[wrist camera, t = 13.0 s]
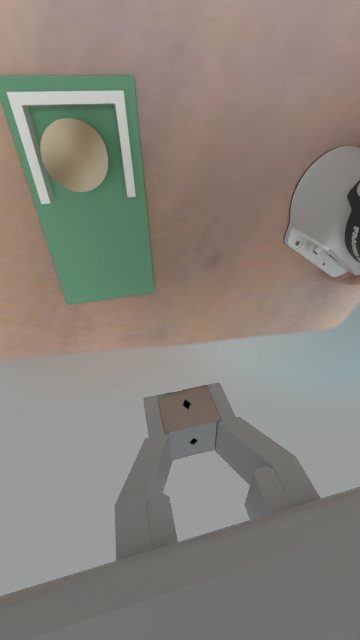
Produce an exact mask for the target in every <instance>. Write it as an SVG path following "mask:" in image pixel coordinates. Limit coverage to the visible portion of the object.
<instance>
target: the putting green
mask: <svg viewBox="0 0 360 640" xmlns="http://www.w3.org/2000/svg"><path fill="white" fill-rule="evenodd" d="M0 100H1V103H2V106H3V109H4V112H5V115H6V118H7V121H8V124H9V128H10V131H11V134H12V137H13V140H14V143H15V146H16V149H17V152H18V155H19V158H20V161H21V164H22V167H23V170H24V173H25V177H26V180H27V183H28V186H29V189H30V192H31V195H32V198H33V201H34V204H35V207H36V210H37V213H38V216H39V219H40V222H41V226H42V229H43V232H44V235H45V238H46V241H47V244H48V247H49V250H50V253H51V256H52V259H53V262H54V265H55V268H56V271H57V275H58V278H59V281H60V284H61V287H62V290H63V293H64V296H65V299H66V302H67V305H69V304H77V303H84V302H91V301H98V300H105V299H112V298H119V297H126V296H133V295H141V294H148V293H155V290H154V279H153V269H152V259H151V249H150V238H149V228H148V218H147V207H146V197H145V187H144V176H143V166H142V156H141V145H140V135H139V125H138V115H137V104H136V94H135V84H134V75H80V76H0ZM63 118H73V119H77V120H80V121H82V122H85V123H87V124H89V125H91V126H92V127H93V128H95V129H96V130H97V131H98V133H99V134H100V135H101V137H102V138H103V140H104V143H105V145H106V149H107V155H108V170H107V174H106V176H105V178H104V180H103V181H102V183H101V184H100V185H99V186H98V187H96V188H95V189H93V190H91V191H87V192H74V191H71V190H68V189H66V188H64V187H62V186H61V185H59V184H58V183H57V182H56V181H55V180H54V179H53V178H52V177H51V176H50V175H49V173H48V172H47V170H46V168H45V166H44V164H43V161H42V157H41V151H40V144H41V139H42V135H43V133H44V131H45V130H46V128H47V127H48V126H49V125H50V124H51V123H53V122H54V121H56V120H59V119H63Z"/></svg>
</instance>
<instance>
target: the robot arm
mask: <svg viewBox="0 0 360 640" xmlns="http://www.w3.org/2000/svg"><path fill="white" fill-rule="evenodd" d="M297 241H298V242H297ZM296 242H297V243H296ZM284 243H285V244H286V245H287V246H288V247H289V248H291V249H292V250H294V251H295V252H296V253H298V254H299V255H301V256H302V257H304V258H305V259H306V260H308V261H309V262H311V263H312V264H313V265H315V266H316V267H318V268H319V269H321V270H322V271H323V272H325V273H326V274H328V275H329V276H332V277H337V276H340V275H343V274H345V273H347V272H350V273H352V274H354V275H360V148H359V147H355V146H342V147H338V148H336V149H333V150H331V151H329V152H327V153H326V154H324V155H323V156H321V157H320V158H319V159H318V160H317V161H315V162H314V163H313V164H312V166H311V167H310V168H309V169H308V170H307V171H306V173H305V174H304V176H303V177H302V179H301V180H300V182H299V184H298V186H297V188H296V190H295V193H294V196H293V199H292V203H291V209H290V224H289V227H288V230H287V232H286V235H285V239H284ZM295 243H296V244H295ZM144 407H145V414H146V421H147V427H148V434H149V438H146V439H145V440H144V442H143V444H142V447H141V449H140V451H139V453H138V455H137V458H136V460H135V462H134V464H133V466H132V469H131V471H130V473H129V475H128V478H127V480H126V482H125V484H124V486H123V488H122V491H121V493H120V495H119V497H118V500H117V502H116V504H115V531H116V561H114V562H111V563H107V564H104V565H101V566H98V567H94V568H91V569H88V570H84V571H81V572H78V573H75V574H71V575H68V576H65V577H62V578H58V579H55V580H52V581H48V582H45V583H42V584H38V585H35V586H32V587H29V588H25V589H22V590H19V591H15V592H12V593H9V594H6V595H3V596H0V640H360V487H357V488H354V489H351V490H348V491H344V492H341V493H338V494H335V495H331V496H328V497H324V498H320V496H319V495H318V493H317V491H316V490H315V488H314V486H313V485H312V483H311V481H310V480H309V478H308V476H307V474H306V473H305V471H304V469H303V468H302V466H301V464H300V463H299V461H298V459H297V458H296V457H295V456H294V455H293V454H291V453H290V452H288V451H287V450H286V449H284V448H283V447H281V446H280V445H278V444H277V443H276V442H274V441H273V440H271V439H270V438H269V437H267V436H266V435H264V434H263V433H262V432H260V431H259V430H257V429H256V428H255V427H253V426H252V425H250V424H249V423H248V422H246V421H245V420H243V419H242V418H241V417H235V414H234V412H233V410H232V408H231V406H230V404H229V402H228V400H227V397H226V395H225V393H224V391H223V389H222V387H221V385H220V384H219V383H214V384H209V385H203V386H199V387H194V388H190V389H185V390H182V391H178V392H172V393H167V394H161V395H157V396H151V397H146V398H144ZM213 450H215V451H216V452H217V453H218V454H219V455H220V456H221V457H222V458H223V459H224V460H225V461H226V462H227V463H228V464H229V465H230V466H231V467H232V468H233V469H234V470H235V471H236V472H237V473H238V474H239V475H240V476H241V477H242V478H243V479H244V480H245V481H246V482H247V483H248V484H249V485H250V488H249V491H248V495H247V498H246V502H245V507H246V510H247V513H248V516H249V518H250V520H249V521H245V522H242V523H239V524H236V525H232V526H229V527H226V528H223V529H219V530H216V531H213V532H209V533H206V534H203V535H200V536H196V537H193V538H190V539H186V540H183V541H180V542H178V541H177V535H176V530H175V525H174V519H173V514H172V509H171V504H170V499H169V497H168V496H167V495H165V494H163V490H164V487H165V484H166V481H167V477H168V474H169V471H170V467H171V464H172V461H173V460H176V459H180V458H183V457H187V456H190V455H194V454H199V453H203V452H208V451H213Z"/></svg>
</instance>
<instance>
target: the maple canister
mask: <svg viewBox="0 0 360 640" xmlns="http://www.w3.org/2000/svg"><path fill="white" fill-rule="evenodd" d="M40 151H41V157H42V161H43V164H44V166H45V168H46V170H47V172H48V173H49V175H50V176H51V177H52V178H53V179H54V180H55V181H56V182H57V183H58V184H59V185H61V186H62V187H64V188H66V189H68V190H71V191H74V192H87V191H91V190H93V189H95V188H96V187H98V186H99V185H100V184H101V183H102V181H103V180H104V178H105V176H106V174H107V170H108V155H107V149H106V145H105V143H104V140H103V138H102V137H101V135H100V134H99V133H98V131H97V130H96V129H95V128H93V127H92V126H91V125H89V124H87V123H85V122H82V121H80V120H77V119H73V118H63V119H59V120H56V121H54V122H53V123H51V124H50V125H49V126H48V127H47V128H46V130H45V131H44V133H43V135H42V139H41V144H40Z"/></svg>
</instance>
